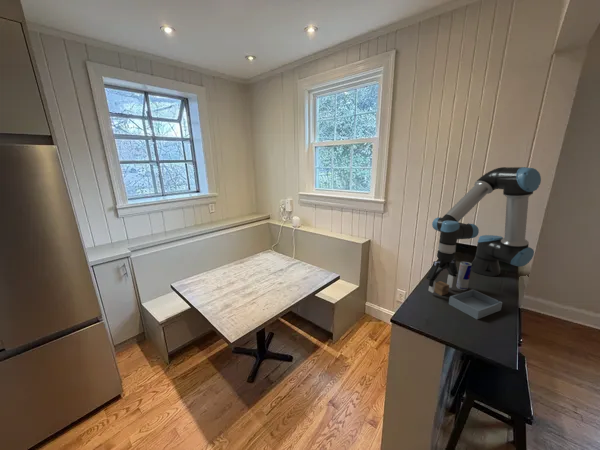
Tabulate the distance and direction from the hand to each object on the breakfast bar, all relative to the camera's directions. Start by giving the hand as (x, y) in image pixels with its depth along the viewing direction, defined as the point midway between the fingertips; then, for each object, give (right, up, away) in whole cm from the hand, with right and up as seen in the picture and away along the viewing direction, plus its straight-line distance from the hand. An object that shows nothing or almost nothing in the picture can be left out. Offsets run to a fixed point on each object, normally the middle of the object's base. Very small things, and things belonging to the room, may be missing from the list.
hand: (440, 289), depth 128 cm
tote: (+9, -5, -13) cm, 16 cm away
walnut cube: (0, -2, +1) cm, 2 cm away
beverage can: (+14, -1, +4) cm, 15 cm away
